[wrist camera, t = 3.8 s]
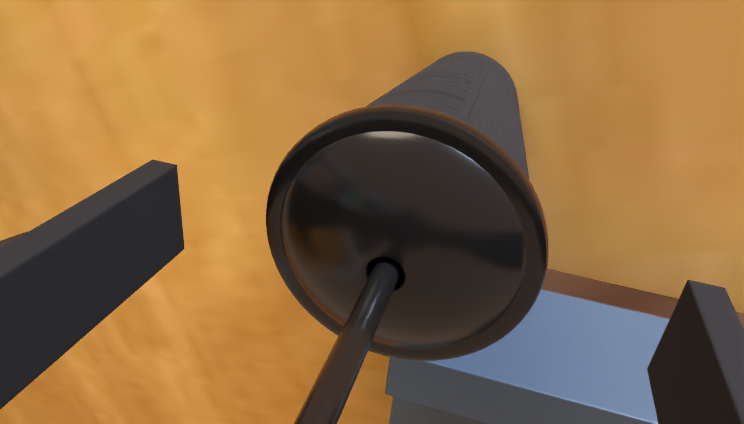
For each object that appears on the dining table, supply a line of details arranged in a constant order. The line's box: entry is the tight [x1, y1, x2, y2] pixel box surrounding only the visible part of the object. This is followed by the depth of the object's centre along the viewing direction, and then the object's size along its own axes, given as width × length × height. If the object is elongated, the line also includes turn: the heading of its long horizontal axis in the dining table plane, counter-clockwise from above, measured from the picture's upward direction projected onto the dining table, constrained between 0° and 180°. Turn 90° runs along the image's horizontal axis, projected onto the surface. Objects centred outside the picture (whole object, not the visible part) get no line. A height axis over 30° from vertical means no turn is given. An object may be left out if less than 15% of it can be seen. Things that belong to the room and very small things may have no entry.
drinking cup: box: [266, 52, 548, 424], centre depth 18 cm, size 8×8×20 cm
